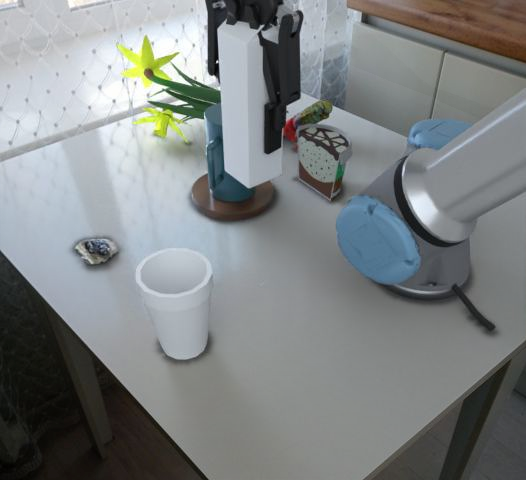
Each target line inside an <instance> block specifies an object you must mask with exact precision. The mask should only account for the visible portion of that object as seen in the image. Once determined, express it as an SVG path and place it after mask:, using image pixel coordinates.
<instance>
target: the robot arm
mask: <svg viewBox="0 0 526 480" xmlns="http://www.w3.org/2000/svg"><path fill="white" fill-rule="evenodd" d="M204 2H205V7H206V8H205V9H206V12H207V18H206V19H207V20H206V21H207V22H206V23H207V25H206V26H207V28H206V29H207V35H206V36H207V73H208V75H209V76H210V77H213V76H214V77H215V78H216V79H217V82H218V85H220V69H219V50H218V31H217V30H218V28H219V27H220V25H221V24H222V23H223V22H224V21H225V20H226V19H227V21H226V24H228V25H233V26H234V25H235V24H236V23H237V21H240V22H246V23H249V26H250V29H255V30H258V29H259V27H260V25H265V26H264V27H263V28H262V29H261V30H262V31H266V30H268V29H270V28H272V27H273V26H272V25H274V26H276V27H277V29H278V30H279V34H278V44H277V43H275V42H272V41H270V40H267V39H265V38H264V37H263V36H262V32H261V30H260V31H259V32H258V33H257V34H258V37H259V44H260V46H262V47H263V74H264V79H265V83H266V88H267V92H268V97H269V101H270V102H269V103H267V104H265V105H264V153H266V154H268V155H269V154H270V153H272V152H274V151H276V150H278V149H279V148H281V147H282V128H284V127H285V125H286V122H287V112H286V111H288V110H287V107H288V106H290V105H291V104H293V103H295V102H297V101H299V100H301V97H302V83H301V82H302V80H301V79H302V78H301V74H302V73H301V31H302V26H303V22H304V13H303V11H302V10H301V9H297V10H295V11H293V10H292V9H291V8H289V7H287V6H286V5H285V2H284V0H204ZM270 24H272V25H270ZM278 92H279V94H278ZM287 105H288V106H287ZM525 193H526V87H524V88H523V89H521V90H520V91H519V92H517V93H515V94H514V95H513V96H512V97H510V98H509V99H508V100H506V101H504V102H503V103H502V104H500V105H499V106H498V107H497V108H495V109H494V110H492V111H491V112H490V113H488V114H487V115H485V116H484V117H483V118H481V119H480V120H478V121H477V122H476V123H474V124H473V123H469V122H466V121H460V120H456V119H449V118H428V119H423V120H420V121H418V122H416V123H415V124H414V125H412V127H411V129H410V131H409V135H408V136H407V137H406V148H405V151H404V153H403V155H402V156H401V157H400V158H399V159H398V160H397V161H396V162H395V163H393V164H392V165H390V166H389V167H388V168H387V169H386V170H385V171H383V172H382V173H381V174H380V175H379V176H377V178H375V179H374V180H372V181H371V182H370V183H369V184H368V185H367V186H366V187H365V188H363V189H362V190H361V191H360V192H359V193H357V194H356V195H354V196H352V197H350V198H349V199H348V200H347V201H346V204H345V205H344V206H343V208H341V209H340V211H339V213H338V215H337V217H336V221H335V223H336V224H335V230H336V241H337V244H338V246H339V249H340V251H341V253H342V255H343V256H344V258H345V260H346V261H347V262H348V263H349V265H350V266H351V267H352V268H353V269H354V270H356V271H357V272H358V273H359V274H360V275H361V276H363V277H365V278H366V279H371V280H372V281H373V282H375V283H377V284H382V285H383V286H384V287H385V288H386V289H388V290H389V291H391V292H393V293H395V294H398V295H400V296H403V297H406V298H409V299H413V300H414V299H415V300H420V301H421V300H422V301H431V300H432V301H435V300H442V299H446V298H450V297H451V296H453V295H456V296H457V297H458V298H459V299H460V301H461V302H462V303H463V304H464V306H465V307H466V308H467V310H468V311H469V312H470V313H471V314H472V315H473V317H474V318H475V319H476V320H477V321H478V322H479V323H480V324H481V325H483V326H484V327H485V328H486V329H487V330H488V331H490V332H493V331H494V330H495V329H496V328H497V327H496V325H494V323H492V322H491V321H490V320H488V319H487V318H486V316H484V315H483V314H482V313H481V312H480V311H479V310H478V309H477V308H476V306H475V305H474V303H473V301H471V300H470V298H469V297H468V296H467V295H466V294H465V292H464V291H463V290H462V289H463V288H464V287H465V285H466V283H467V281H468V278H469V275H470V272H471V247H470V245H471V244H470V237H471V236H472V235H473V233H474V231H475V229H476V228H477V224H478V220H479V218H480V217H482V216H483V215H485V214H487V213H489V212H492V211H493V210H495V209H497V208H498V207H500V206H502V205H505V204H506V203H507V202H509V201H511V200H513V199H515V198H518V197H519V196H520V195H522V194H525Z"/></svg>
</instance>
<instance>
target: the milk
mask: <svg viewBox="0 0 526 480" xmlns="http://www.w3.org/2000/svg"><path fill="white" fill-rule="evenodd" d="M226 21H227V19H226V20H225V21H224V22H223V23H222V24H221V25H220V27H219V28H218V30H217V31H218V50H219V69H220V84H219V85H220V86H219V87H220V89H219V90H220V91H221V108H222V127H223V146H224V166H225V171H226V172H227V173H228V174H230V175H231V176H233V177H234V178H235V179H237V180H238V181H239V182H241V183H242V184H243V185H245V186H246V187H247V188H249V189H250V188H252V187H254V186H257V185H259V184H262V183H264V182H266V181H269V180H270V181H271V180H274V179H275V178H279V177H281V176H282V173H283V147H284V145H283V144H284V135H283V128H282V147H281V148H279V149H278V150H276V151H274V152H272V153H270V154H269V155H268V154H266V153H264V105H265V104H267V103H269V102H270V101H269V97H268V92H267V88H266V83H265V79H264V74H263V47H262V46H260V44H259V37H258V34H257V33H258V32H259V31H260V30H261V29H262V28H263V27H264V26H265V25H260V27H259V29H258V30H255V29H250V26H249V23H246V22H240V21H237V23H236V24H235V25H234V26H233V25H228V24H226ZM270 25H272V24H270ZM272 26H273V27H272V28H270V29H268V30H266V31H262V30H261V32H262V36H263V37H264V38H265V39H267V40H270V41H272V42H275V43H277V44H278V34H279V30H278V29H277V27H276V26H274V25H272ZM278 94H279V92H278Z"/></svg>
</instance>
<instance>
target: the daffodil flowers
mask: <svg viewBox="0 0 526 480" xmlns="http://www.w3.org/2000/svg"><path fill="white" fill-rule="evenodd" d="M116 46H117V48H118V49H119V51H120V52H121V54H122V55H123V56H124V58H126V59H127V60H128V61H129V62H131V63H132V64H134V65H135V66H133V67H130V68H128V69H126V70H124V71H122V72H121V73H120V76H123V77H126V78H131V79H132V78H133V79H134V78H139V77H141V81H142V84H143V87H144V89H148V88H149V87H151V85H152V84H153V83H155V84H157V85H160V86H163V87H166V88H162V87H161V90H159V91H156V92H155V93H153V94H152V95H150V96H148V97H147V99H149V98H152V97H154V96H157V95H158V94H161V93H164V92H165V93H166V94H168V95H169V96H171V97H173V98H175V99H177V100H178V101H182V102H184V103H183V104H176V105H175V104H171V103H167V102H161V101H155V100H154V101H153V100H147V103H149V104H150V105H152V106H154V107H157V108H160V109H162V110H158V109H156V108H153V107H140V109H141V110H143V111H145V112H146V113H149V114H151V115H152V116H145V117H141V118H139V119H137V120H135V121H134V122H132V125H141V124H149V123H150V124H151V123H154V129H153V131H152V132H153V134H155V135H157V137H160V138H167V135H168V134H167V133H168V127H169V128H170V129H172V130H173V131H174V132H175V133H177V134H178V135H179V136H181V137H182V138H183V140H184V141H185V143H187V144H190V143H189V141H188V139H187V138H186V136H185V135H184V134H183V132H182V130H181V129H180V128H179V127H178V125H179V124H184V125H189V126H190V127H192V124H189V123H187V121H189V120H193V119H199V120H203V121H204V112H205V110H206V109H207V108H209V107H210V106H212V105H215V104H218V103H221V89H216V88H214V87H211V86H209V85H206V84H204V83H202V82H200V81H198V80H195V79H193V78H192V77H189V76H188V75H187V74H185V73H184V72H182V70H180V69H179V68H178V67H177V66H176V65H175V64H174V63H173V62H171V61H172V60H174V58H176V57H177V56H178V55H179V54H180V53H181V52H179V51H178V52H174V53H172V54H168V55H165V56H162V57H158V58H156V59H155V56H154V52H153V48H152V45H151V42H150V39H149V37H148V35H147V34H145V35H144V37H143V39H142V45H141V49H139V51H138V53H136V52H134V51H132V50H131V49H129V48H127V47H126V46H124V45H122V44H120V43H116ZM168 63H170V64H171V66H172V67H173V68H174V70H175V71H176V72H177V73H178V74H179V75H180V76H181V77H182V79H183V80H184V81H185V82H187V84H186V83H182V82H178V81H173V79H172V77H170V76H169V75H168V74H167V73H165V72H164V71H163V70H162V69H161V68H162V67H164V66H165V65H167V64H168ZM288 106H289V105H287V107H288ZM174 114H178V115H182V116H184V117H182V118H181V119H180V118H176V117H174Z"/></svg>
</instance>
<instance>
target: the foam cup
mask: <svg viewBox="0 0 526 480" xmlns="http://www.w3.org/2000/svg"><path fill="white" fill-rule="evenodd" d="M134 272H135V283H136V288H137V293H138V296H139V297H140V299H141V300H142V302H143V304H144V307H145V310H146V312H147V315H148V317H149V319H150V323H151V324H152V327H153V329H154V332H155V334H156V338H157V339H158V342H159V344H160V346H161V348H162V350H163V352H164V353H165V354H166V355H167V356H168V357H170V358H172V359H174V360H185V361H187V360H190V359H194V358H196V357H198V356H199V355H201V354H202V353H203V352H204V351H205V349H206V348H207V347H206V346H207V345H208V340H209V339H208V338H209V327H210V314H211V305H212V303H211V302H212V293H213V292H212V291H213V289H214V277H213V276H214V274H213V269H212V264H211V261H210V260H209V259H208V258H207V257H206V256H205V255H204V254H203V253H202V252H199V251H196V250H193V249H191V248H188V247H168V248H164V249H161V250H157V251H154V252H152V253H150V254H149V255H148V256H146V257H144V258H143V259H142V260H141V261H140V263H139V264H138V266H137V267H136V269H135V271H134Z"/></svg>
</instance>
